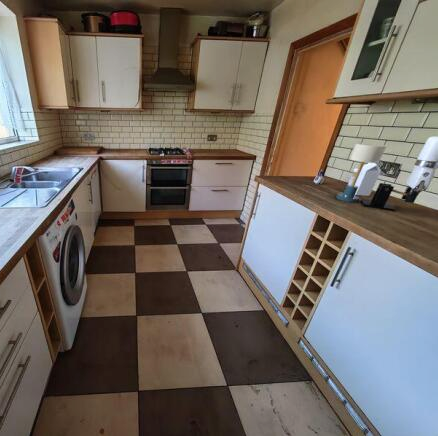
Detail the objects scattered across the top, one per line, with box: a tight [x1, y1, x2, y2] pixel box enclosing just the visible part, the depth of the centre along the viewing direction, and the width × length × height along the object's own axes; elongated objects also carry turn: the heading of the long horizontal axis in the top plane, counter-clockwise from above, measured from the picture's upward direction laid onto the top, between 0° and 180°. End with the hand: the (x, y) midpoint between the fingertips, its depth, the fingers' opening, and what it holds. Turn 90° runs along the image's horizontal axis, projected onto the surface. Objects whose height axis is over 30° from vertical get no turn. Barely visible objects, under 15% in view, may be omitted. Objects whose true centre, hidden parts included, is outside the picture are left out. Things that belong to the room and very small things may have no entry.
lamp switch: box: [391, 188, 410, 198], centre depth 115 cm, size 13×4×4 cm, turn 58°
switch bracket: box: [359, 182, 396, 212], centre depth 118 cm, size 12×9×12 cm
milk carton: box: [355, 162, 381, 197], centre depth 135 cm, size 7×7×19 cm
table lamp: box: [335, 142, 387, 203], centre depth 123 cm, size 12×12×30 cm
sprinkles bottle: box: [347, 167, 359, 185], centre depth 144 cm, size 5×5×13 cm
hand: (407, 200), depth 114 cm, fingers closed on lamp switch, 3 cm apart
